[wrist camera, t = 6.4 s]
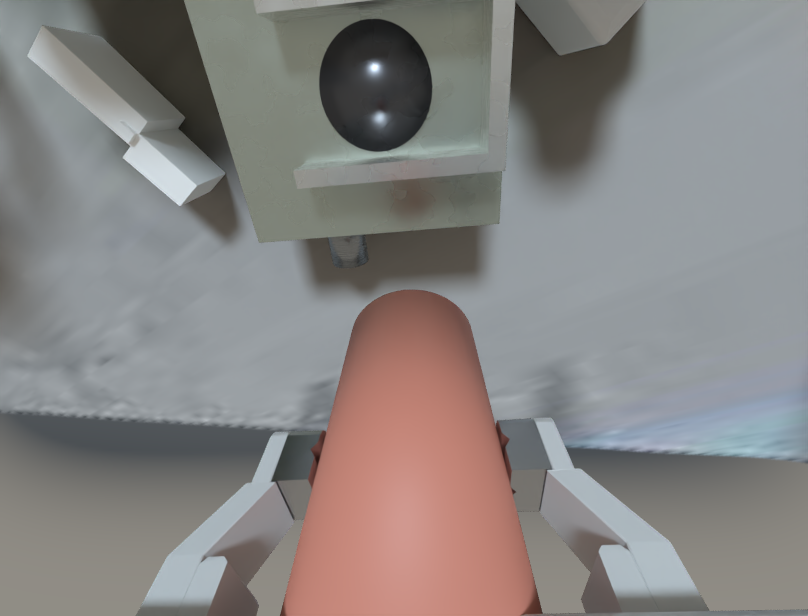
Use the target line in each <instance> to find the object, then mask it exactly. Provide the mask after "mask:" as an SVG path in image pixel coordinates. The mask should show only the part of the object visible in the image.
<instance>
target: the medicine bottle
mask: <svg viewBox="0 0 808 616" xmlns="http://www.w3.org/2000/svg"><path fill="white" fill-rule="evenodd" d="M645 1H646V0H515V2H516V3H517V4H518V5H519V7H520V8H521V9H522V10H523V12H524V13H525V14H526V15H527V16H528V18H529V19H530V20H531V21H532V23H533V24H534V25H535V26H536V28H537V29H538V30H539V31H540V33H541V34H542V35H543V36H544V38H545V39H546V40H547V41H548V43H549V44H550V45H551V46H552V48H553V49H554V50H555V51H556V53H557V54H558V55H560V56H561V55H566V54H570V53H574V52H578V51H582V50H586V49H590V48H594V47H598V46H602V45H605V44H606V43H608V42H609V41H610V40H611V39H612V37H613V36H614V35H615V34H616V33H617V32H618V31H619V30H620V29H621V28H622V26H623V25H624V24H625V23H626V22H627V21H628V20H629V19H630V18H631V17H632V15H633V14H634V13H635V12H636V11H637V10H638V9H639V8H640V7H641V6H642V4H643V3H644V2H645Z"/></svg>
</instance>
